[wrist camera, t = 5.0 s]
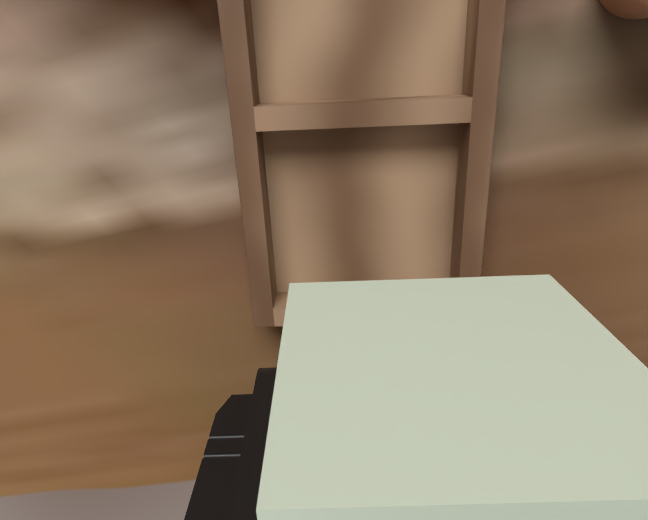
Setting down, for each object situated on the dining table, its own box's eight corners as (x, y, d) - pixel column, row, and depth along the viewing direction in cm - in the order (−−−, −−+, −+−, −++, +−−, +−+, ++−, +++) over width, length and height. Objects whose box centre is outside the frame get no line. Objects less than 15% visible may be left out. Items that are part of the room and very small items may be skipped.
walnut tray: (500, -173, 18) (525, -208, 16) (463, 296, 26) (476, 321, 23) (213, -154, 18) (195, -186, 16) (262, 302, 26) (254, 327, 24)
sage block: (549, 274, 9) (781, 496, 4) (516, 469, 11) (655, 761, 6) (289, 283, 9) (256, 509, 5) (303, 475, 11) (289, 770, 7)
